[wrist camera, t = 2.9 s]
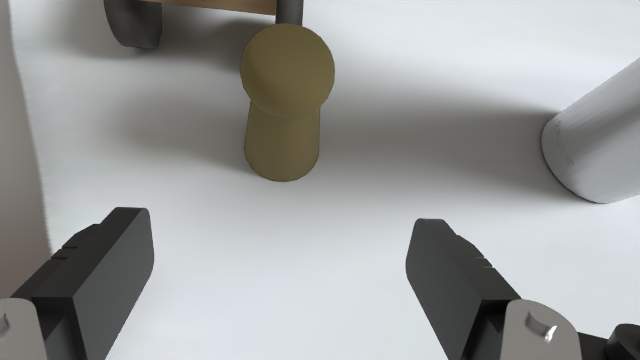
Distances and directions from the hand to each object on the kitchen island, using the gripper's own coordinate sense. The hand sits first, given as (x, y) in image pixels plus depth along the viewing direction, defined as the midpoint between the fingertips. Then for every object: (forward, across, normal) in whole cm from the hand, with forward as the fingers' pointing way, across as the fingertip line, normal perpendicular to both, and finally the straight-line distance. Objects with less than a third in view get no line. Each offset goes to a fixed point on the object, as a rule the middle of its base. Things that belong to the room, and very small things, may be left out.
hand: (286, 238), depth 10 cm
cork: (+18, 0, +3) cm, 18 cm away
